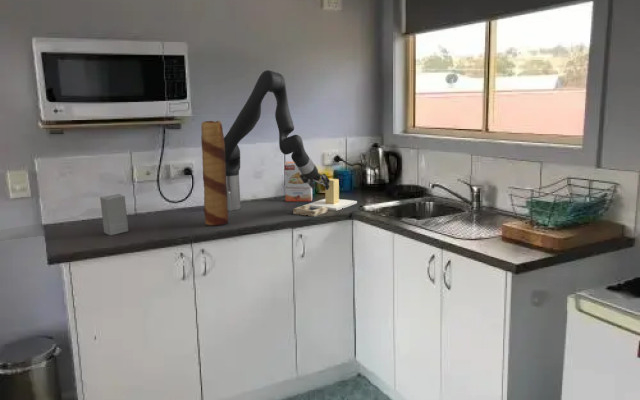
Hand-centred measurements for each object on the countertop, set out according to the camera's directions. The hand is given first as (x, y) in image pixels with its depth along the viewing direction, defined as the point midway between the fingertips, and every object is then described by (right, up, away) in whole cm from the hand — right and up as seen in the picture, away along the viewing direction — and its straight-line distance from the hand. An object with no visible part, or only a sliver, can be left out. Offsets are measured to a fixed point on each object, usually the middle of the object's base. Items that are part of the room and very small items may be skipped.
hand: (320, 187), depth 252 cm
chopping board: (+6, -9, +11) cm, 15 cm away
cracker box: (-12, -7, +24) cm, 27 cm away
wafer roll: (-46, -17, -23) cm, 54 cm away
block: (+6, -8, +10) cm, 14 cm away
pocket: (-4, -12, -5) cm, 14 cm away
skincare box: (-86, -20, -36) cm, 95 cm away
